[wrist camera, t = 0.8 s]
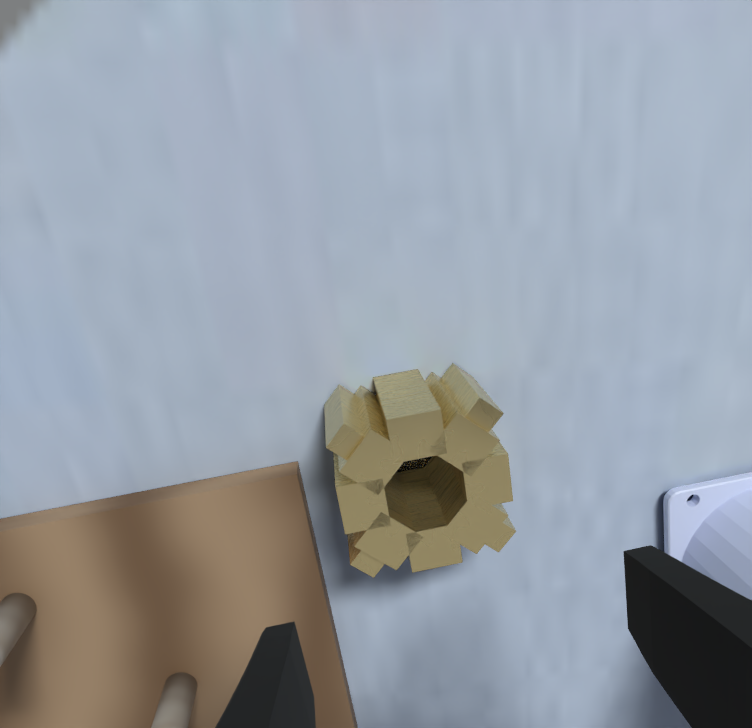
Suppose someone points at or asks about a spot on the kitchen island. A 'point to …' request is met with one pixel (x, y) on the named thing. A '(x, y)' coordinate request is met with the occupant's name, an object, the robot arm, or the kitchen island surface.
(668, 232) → the kitchen island surface
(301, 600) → the gear board
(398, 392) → the brass gear
